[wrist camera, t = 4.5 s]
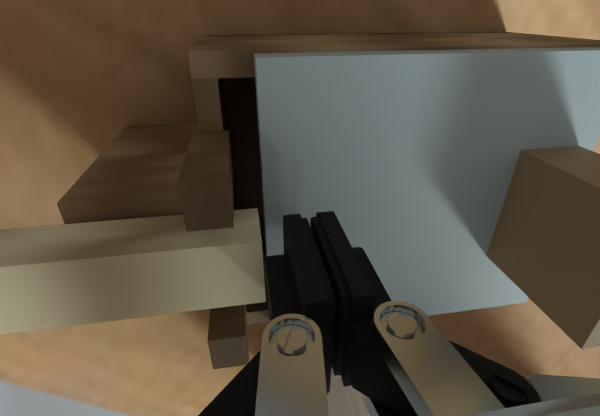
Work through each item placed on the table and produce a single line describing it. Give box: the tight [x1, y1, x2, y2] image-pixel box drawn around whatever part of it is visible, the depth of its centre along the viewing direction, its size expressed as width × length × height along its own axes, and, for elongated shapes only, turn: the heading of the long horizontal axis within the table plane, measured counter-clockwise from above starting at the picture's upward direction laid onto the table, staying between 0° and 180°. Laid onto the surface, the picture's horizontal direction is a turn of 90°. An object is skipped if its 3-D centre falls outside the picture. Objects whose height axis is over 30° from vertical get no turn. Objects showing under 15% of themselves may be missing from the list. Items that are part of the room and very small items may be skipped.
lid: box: [254, 47, 600, 349], centre depth 12 cm, size 13×12×6 cm
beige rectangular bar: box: [0, 208, 266, 334], centre depth 11 cm, size 8×2×2 cm, turn 90°
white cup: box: [327, 368, 370, 416], centre depth 25 cm, size 8×8×10 cm
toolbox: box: [57, 32, 600, 369], centre depth 16 cm, size 20×12×11 cm, turn 90°
